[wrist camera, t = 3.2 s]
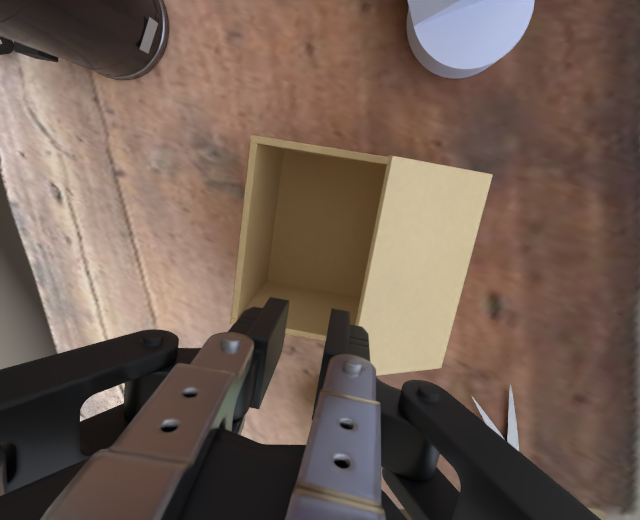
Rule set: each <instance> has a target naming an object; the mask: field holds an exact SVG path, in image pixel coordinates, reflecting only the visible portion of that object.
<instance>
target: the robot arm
mask: <svg viewBox="0 0 640 520" xmlns="http://www.w3.org/2000/svg"><path fill="white" fill-rule="evenodd" d="M168 34H169V21H168V14H167V10H166V7H165V4H164V1H163V0H0V40H1V41H2V43H3V44H0V55H3V54H9V53H11V52H13V50H14V51H15V52H18V53H21V54H24V55H27V56H30V57H33V58H36V59H41V60H48V61H54V62H58V58H61V59H64V60H66V61H69V62H72V63H75V64H77V65H80V66H82V67H85V68H88V69H91V70H93V71H95V72H97V73H99V74H101V75H104V76H106V77H109V78H112V79H117V80H131V79H135V78H138V77H141V76H143V75H145V74H146V73H148V72H149V71H150V70H152V69H153V68H154V67H155V66H156V64H157V63H158V62H159V60H160V59H161V57H162V55H163V53H164V51H165V48H166V45H167V41H168ZM13 41H14V43H13ZM288 311H289V300H285V299H280V298H274V297H270V298H269V299H268V301H267V302H266V304H265V305H264V307H263V308H260V307H251V308H249V309H247V310H245V311H244V312H243V313H242V314H241V316H240V318H238V320H237V321H236V322H235V323H234V325H233V326H232V327H231V329H230V330H229V331H228V332H224V333H218V334H215V335H213V336H211V337H210V338H209V339H208V340H207V341H206V343H205V344H204V345H203V347H202V348H178V342H179V339H178V337H177V336H176V335H175V334H173V333H171V332H169V331H165V330H144V331H139V332H136V333H132V334H128V335H125V336H121V337H117V338H114V339H110V340H106V341H103V342H99V343H96V344H92V345H88V346H85V347H81V348H77V349H74V350H70V351H66V352H63V353H59V354H56V355H52V356H49V357H45V358H41V359H38V360H34V361H31V362H27V363H23V364H20V365H16V366H12V367H8V368H5V369H1V370H0V520H407V519H406V518H405V516H404V515H403V514H402V513H401V512H400V510H399V509H398V508H397V507H396V505H395V504H394V503H393V502H392V500H391V499H390V498H389V497H388V496H387V495H386V493H384V492H383V491H382V490H381V466H382V467H383V469H382V475H383V478H384V480H385V482H386V483H387V485H388V486H389V488H390V489H391V490H392V492H393V493H394V495H395V496H396V497H397V499H398V500H399V501H400V503H401V504H402V506H403V507H404V508H405V510H406V511H407V513H408V514H409V515H410V517H411V518H412V520H601V519H599V518H598V517H597V516H596V515H595V514H593V513H592V512H591V511H590V510H589V509H587V508H586V507H585V506H584V505H583V504H581V503H580V502H579V501H578V500H577V499H575V498H574V497H573V496H572V495H571V494H569V493H568V492H567V491H566V490H565V489H563V488H562V487H561V486H560V485H559V484H557V483H556V482H555V481H554V480H553V479H551V478H550V477H549V476H548V475H547V474H545V473H544V472H543V471H542V470H541V469H539V468H538V467H537V466H536V465H535V464H533V463H532V462H531V461H530V460H529V459H527V458H526V457H525V456H524V455H523V454H521V453H520V452H519V451H518V450H517V449H515V448H514V447H513V446H512V445H511V444H509V443H508V442H507V441H506V440H505V439H503V438H502V437H501V436H500V435H499V434H497V433H496V432H495V431H494V430H492V429H491V428H490V427H489V426H488V425H486V424H485V423H484V422H483V421H482V420H480V419H479V418H478V417H477V416H476V415H474V414H473V413H472V412H471V411H470V410H468V409H467V408H466V407H465V406H464V405H462V404H461V403H460V402H459V401H458V400H456V399H455V398H454V397H453V396H452V395H450V394H449V393H448V392H447V391H445V390H444V389H443V388H441V387H439V386H437V385H435V384H433V383H430V382H427V381H422V380H410V381H407V382H405V383H404V384H403V386H402V390H399V389H396V388H394V387H391V386H389V385H387V384H385V383H383V382H381V381H380V380H379V379H377V378H376V368H375V367H374V365H373V364H372V363H371V362H370V348H369V335H368V333H367V331H366V330H365V329H364V328H363V327H361V326H356V325H351V324H350V311H344V310H339V309H334V308H332V309H331V314H330V320H329V325H328V331H327V337H326V342H325V348H324V353H323V359H322V365H321V370H320V376H319V382H318V387H317V393H316V399H315V405H314V410H313V416H312V420H313V421H312V425H311V428H310V432H309V436H308V440H307V444H306V445H266V444H260V443H257V442H255V441H253V440H250V439H248V438H246V437H243V436H241V432H242V429H243V427H244V422H245V414H246V413H247V411H248V409H249V407H251V408H256V409H259V408H260V405H261V403H262V400H263V398H264V395H265V393H266V390H267V388H268V385H269V383H270V380H271V378H272V375H273V373H274V370H275V368H276V365H277V363H278V360H279V358H280V355H281V352H282V348H283V343H284V337H285V331H286V324H287V317H288ZM122 383H125V390H124V404H121V405H119V406H117V407H114V408H112V409H109V410H107V411H105V412H102V413H100V414H97V415H95V416H93V417H90V418H88V419H85V420H83V421H81V422H80V409H81V407H82V405H83V403H84V402H85V401H86V400H87V399H88V398H89V397H90V396H92V395H94V394H96V393H98V392H101V391H104V390H106V389H109V388H112V387H114V386H117V385H120V384H122ZM440 454H441V455H442V456H443V457H444V458H445V459H446V460H447V461H448V462H449V463H450V464H451V465H452V466H453V468H454V469H455V470H456V472H457V474H458V476H459V479H460V483H461V491H460V493H459V492H458V490H457V489H456V488H455V487H454V486H453V485H452V484H451V483H450V482H449V480H448V479H447V478H446V477H445V476H444V475H443V474H442V473H441V472H440V470H439V469H438V468H437V467H436V465H437V462H438V458H439V455H440Z"/></svg>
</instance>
